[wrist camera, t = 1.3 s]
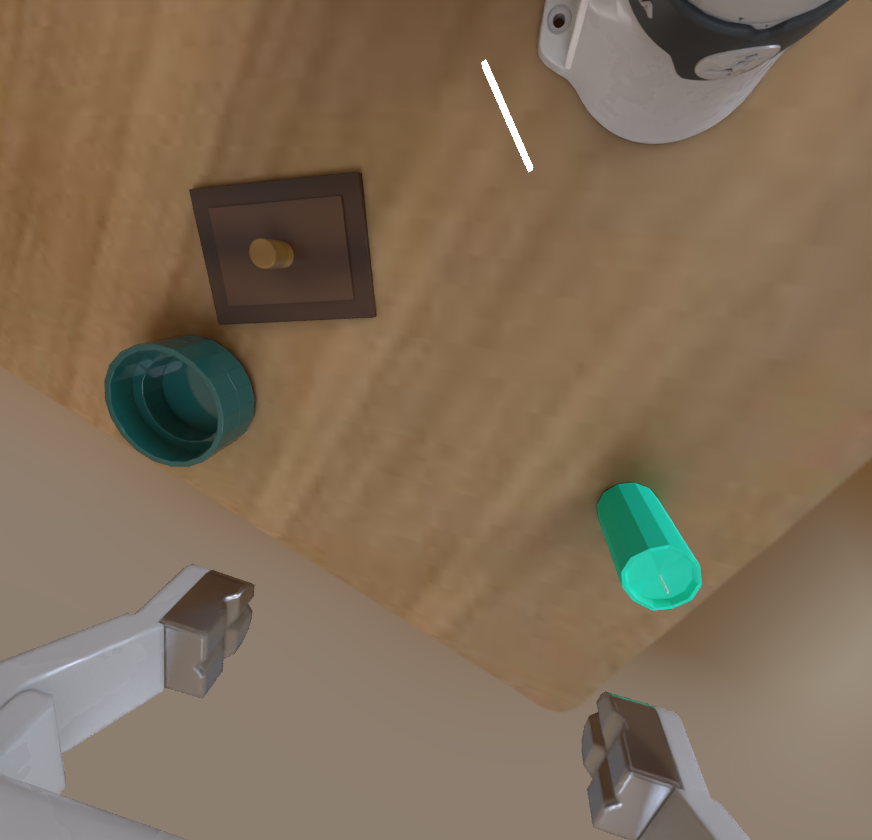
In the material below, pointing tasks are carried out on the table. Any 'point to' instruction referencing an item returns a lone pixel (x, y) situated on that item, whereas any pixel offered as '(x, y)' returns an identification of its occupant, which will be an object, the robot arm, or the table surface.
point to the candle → (647, 548)
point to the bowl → (179, 399)
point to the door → (287, 249)
